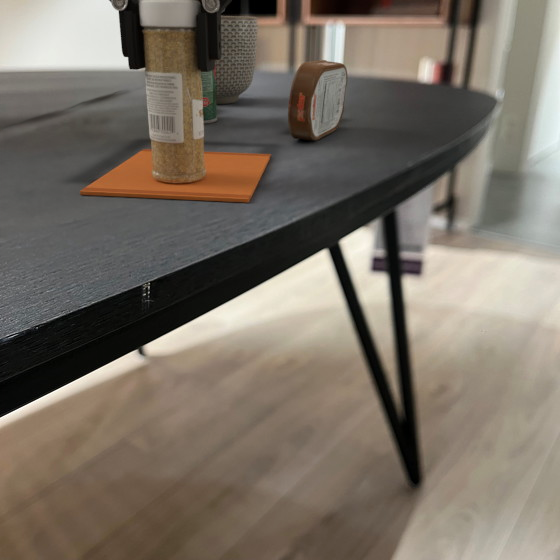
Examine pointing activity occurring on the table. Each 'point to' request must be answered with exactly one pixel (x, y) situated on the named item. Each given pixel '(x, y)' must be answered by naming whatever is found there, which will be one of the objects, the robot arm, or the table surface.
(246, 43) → the planter
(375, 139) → the table surface
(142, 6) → the spice jar
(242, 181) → the orange flat rectangular slab
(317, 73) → the tin
